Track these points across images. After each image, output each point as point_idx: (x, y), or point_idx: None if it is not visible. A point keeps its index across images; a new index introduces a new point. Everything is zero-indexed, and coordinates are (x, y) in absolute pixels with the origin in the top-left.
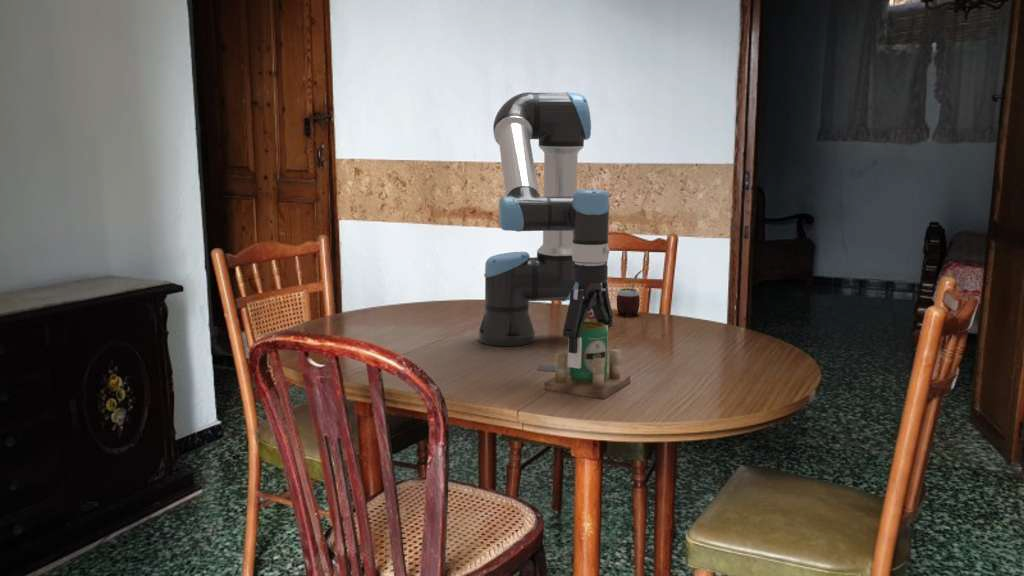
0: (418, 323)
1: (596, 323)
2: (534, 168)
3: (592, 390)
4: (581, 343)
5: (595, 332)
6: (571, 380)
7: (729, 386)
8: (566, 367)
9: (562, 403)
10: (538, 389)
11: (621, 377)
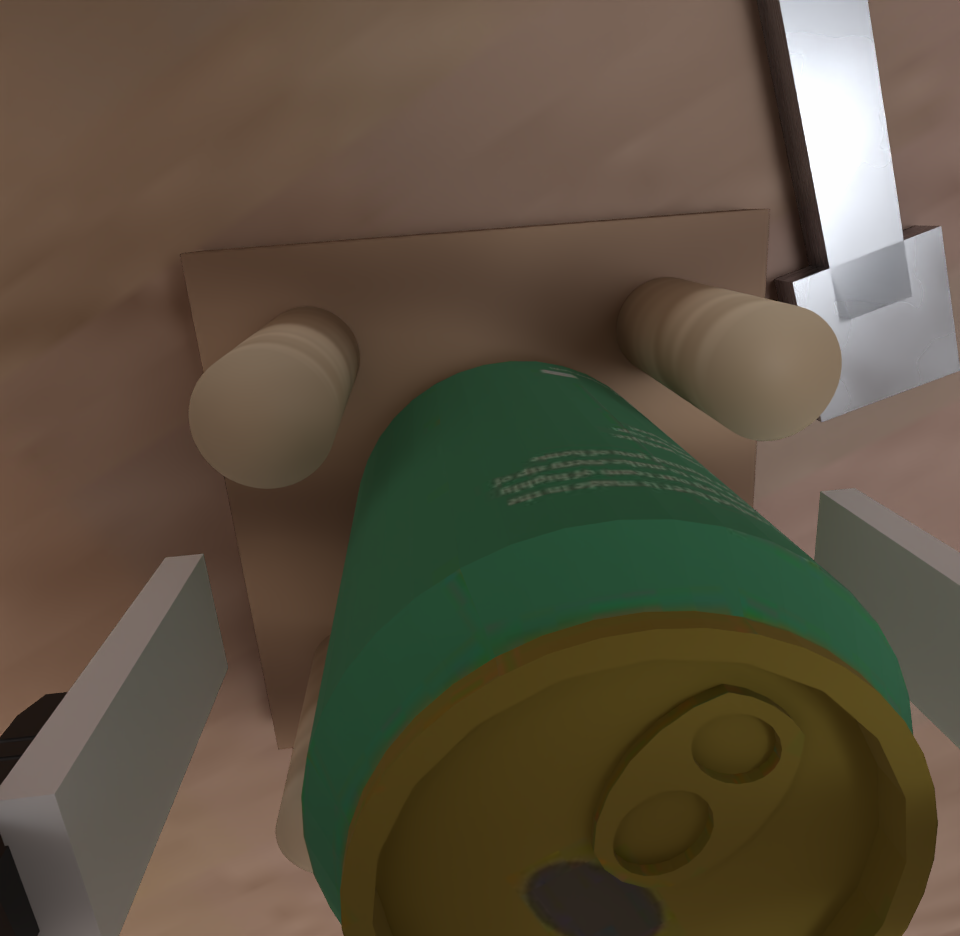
0: None
1: (890, 867)
2: None
3: (262, 669)
4: (140, 875)
5: None
6: (388, 418)
7: None
8: (813, 107)
9: (3, 559)
10: (163, 207)
11: None
